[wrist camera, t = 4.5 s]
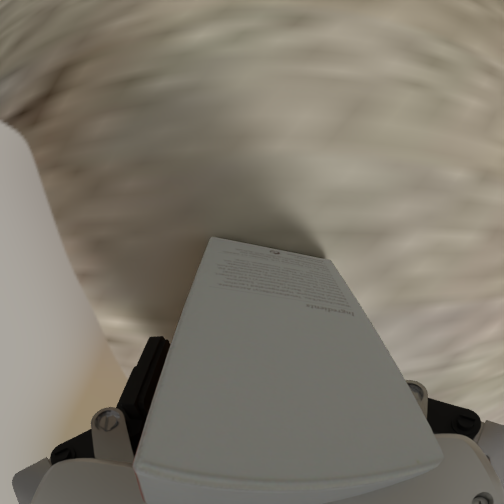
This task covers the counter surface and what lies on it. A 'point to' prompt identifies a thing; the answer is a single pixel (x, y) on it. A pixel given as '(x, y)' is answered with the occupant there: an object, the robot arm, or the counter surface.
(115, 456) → the robot arm
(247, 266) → the small box
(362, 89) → the counter surface
